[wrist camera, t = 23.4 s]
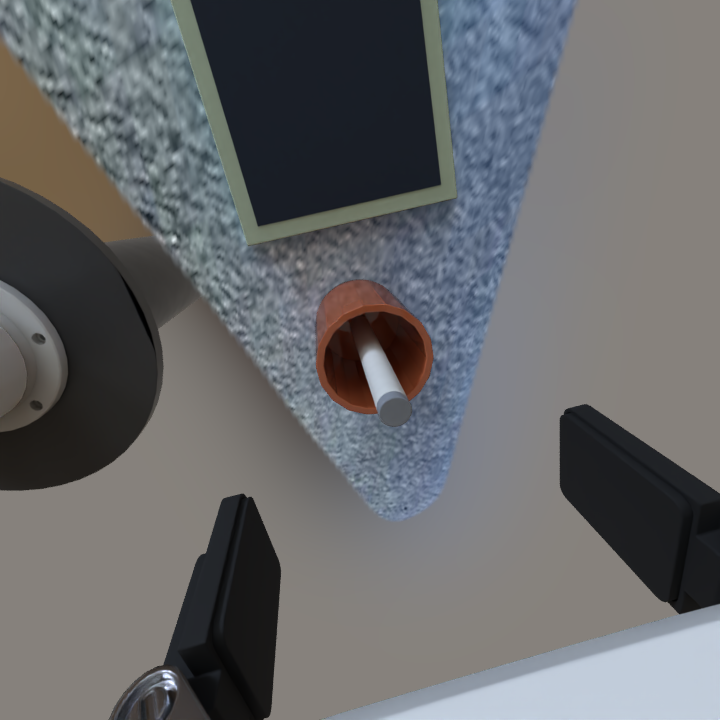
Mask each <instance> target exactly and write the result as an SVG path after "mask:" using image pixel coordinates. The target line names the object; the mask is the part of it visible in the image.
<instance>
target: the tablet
mask: <svg viewBox="0 0 720 720" xmlns="http://www.w3.org/2000/svg"><path fill="white" fill-rule="evenodd" d="M171 4H172V7H173V10H174V13H175V16H176V19H177V23H178V26H179V29H180V32H181V35H182V39H183V42H184V45H185V48H186V51H187V54H188V58H189V61H190V64H191V67H192V70H193V73H194V77H195V80H196V83H197V86H198V89H199V93H200V96H201V99H202V102H203V105H204V108H205V112H206V115H207V118H208V121H209V124H210V128H211V131H212V134H213V137H214V140H215V143H216V147H217V150H218V153H219V156H220V159H221V162H222V166H223V169H224V172H225V175H226V178H227V182H228V185H229V188H230V191H231V194H232V197H233V201H234V204H235V207H236V210H237V213H238V216H239V220H240V223H241V226H242V229H243V232H244V236H245V239H246V242H247V245H248V246H251V245H255V244H259V243H264V242H268V241H272V240H277V239H281V238H285V237H290V236H294V235H299V234H303V233H307V232H312V231H316V230H320V229H325V228H329V227H333V226H338V225H342V224H346V223H351V222H355V221H359V220H364V219H368V218H372V217H377V216H381V215H386V214H390V213H394V212H399V211H403V210H407V209H412V208H416V207H420V206H425V205H429V204H433V203H438V202H442V201H446V200H451V199H455V198H457V190H456V180H455V170H454V160H453V150H452V141H451V131H450V121H449V111H448V101H447V91H446V81H445V71H444V61H443V51H442V41H441V31H440V21H439V11H438V1H437V0H171Z"/></svg>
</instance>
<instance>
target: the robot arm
mask: <svg viewBox="0 0 720 720" xmlns="http://www.w3.org/2000/svg"><path fill="white" fill-rule="evenodd" d="M67 376H68V363H67V356H66V353H65V349H64V345H63V343H62V341H61V339H60V337H59V335H58V333H57V331H56V329H55V327H54V326H53V325H52V323H51V322H50V321H49V319H48V318H47V316H46V315H45V314H44V313H43V312H42V311H41V310H40V309H39V308H38V307H37V306H36V305H35V304H34V303H33V302H32V301H31V300H30V299H29V298H27V297H26V296H24V295H23V294H22V293H20V292H19V291H18V290H16V289H15V288H14V287H12V286H10V285H8V284H6V283H4V282H3V281H1V280H0V432H5V431H11V430H15V429H18V428H21V427H24V426H27V425H28V424H30V423H32V422H34V421H35V420H37V419H39V418H40V417H41V416H43V415H44V414H45V413H47V412H48V411H49V410H50V409H52V407H53V406H54V405H55V404H56V403H57V401H58V400H59V399H60V397H61V395H62V393H63V391H64V389H65V387H66V381H67ZM560 488H561V490H562V493H563V495H564V496H565V497H566V498H567V500H568V501H569V502H570V503H571V504H572V505H573V506H574V507H575V508H576V509H577V511H578V512H579V513H580V514H581V515H582V516H583V517H584V518H585V519H586V520H587V521H588V522H589V524H590V525H591V526H592V527H593V528H594V529H595V530H596V531H597V532H598V533H599V535H600V536H601V537H602V538H603V539H604V540H605V541H606V542H607V543H608V544H609V545H610V546H611V547H612V549H613V550H614V551H615V552H616V553H617V554H618V555H619V556H620V558H621V559H622V560H623V561H624V562H625V563H626V564H627V565H628V566H629V567H630V568H631V570H632V571H633V572H634V573H635V574H636V575H637V576H638V577H639V578H640V579H641V580H642V582H643V583H644V584H645V585H646V586H647V587H648V588H649V589H650V590H651V591H652V592H653V594H654V595H655V596H656V597H657V598H658V599H660V600H661V601H663V602H668V603H669V604H670V605H671V606H672V607H673V608H674V609H675V610H676V611H677V612H678V613H679V615H676V616H672V617H668V618H665V619H661V620H658V621H654V622H651V623H647V624H644V625H640V626H637V627H633V628H630V629H626V630H623V631H619V632H616V633H612V634H609V635H605V636H602V637H598V638H595V639H591V640H588V641H584V642H581V643H577V644H574V645H570V646H567V647H563V648H560V649H556V650H553V651H549V652H546V653H542V654H539V655H536V656H532V657H529V658H525V659H522V660H519V661H515V662H512V663H508V664H505V665H501V666H498V667H495V668H491V669H488V670H484V671H481V672H478V673H474V674H470V675H467V676H464V677H460V678H457V679H453V680H450V681H447V682H443V683H440V684H437V685H433V686H430V687H427V688H423V689H420V690H417V691H413V692H410V693H406V694H403V695H400V696H396V697H393V698H390V699H386V700H383V701H380V702H376V703H373V704H370V705H366V706H363V707H359V708H356V709H353V710H349V711H347V712H343V713H340V714H337V715H334V716H331V717H328V718H324V719H321V720H720V493H718V492H717V491H715V490H714V489H712V488H711V487H709V486H708V485H706V484H705V483H703V482H702V481H701V480H699V479H698V478H696V477H695V476H693V475H691V474H690V473H688V472H687V471H686V470H684V469H683V468H681V467H680V466H678V465H677V464H675V463H674V462H672V461H671V460H669V459H668V458H666V457H665V456H663V455H662V454H661V453H659V452H657V451H656V450H655V449H653V448H652V447H650V446H649V445H647V444H646V443H644V442H643V441H641V440H640V439H638V438H637V437H635V436H634V435H632V434H631V433H629V432H628V431H626V430H624V429H623V428H622V427H621V426H619V425H618V424H616V423H614V422H613V421H612V420H610V419H609V418H607V417H606V416H604V415H603V414H601V413H600V412H598V411H597V410H595V409H594V408H592V407H591V406H589V405H587V404H584V405H580V406H576V407H572V408H568V409H566V410H565V412H564V415H562V416H561V417H560ZM280 579H281V568H280V563H279V560H278V557H277V555H276V553H275V550H274V548H273V546H272V543H271V541H270V538H269V536H268V533H267V531H266V529H265V526H264V524H263V521H262V519H261V517H260V514H259V512H258V509H257V507H256V505H255V502H254V500H253V498H252V497H248V498H247V497H246V496H245V495H244V494H239V495H235V496H231V497H227V498H224V499H223V500H222V502H221V505H220V508H219V511H218V515H217V518H216V521H215V525H214V528H213V532H212V535H211V538H210V542H209V545H208V548H207V552H206V554H202V555H201V556H200V557H199V558H198V559H197V562H196V564H195V567H194V570H193V574H192V577H191V580H190V583H189V586H188V589H187V593H186V596H185V599H184V602H183V605H182V608H181V612H180V614H179V618H178V621H177V624H176V627H175V630H174V634H173V637H172V640H171V643H170V646H169V649H168V653H167V655H166V658H165V662H164V665H162V666H157V667H155V668H153V669H151V670H149V671H147V672H146V673H144V674H143V675H142V676H141V677H139V678H138V679H137V680H135V681H134V682H133V683H132V684H131V686H130V687H129V688H128V689H127V690H126V691H125V692H124V693H123V695H122V696H121V698H120V699H119V701H118V702H117V704H116V705H115V707H114V709H113V711H112V713H111V716H110V718H109V720H263V719H264V718H267V717H269V716H270V712H271V705H272V691H273V677H274V663H275V649H276V635H277V620H278V607H279V594H280Z"/></svg>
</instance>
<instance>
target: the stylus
mask: <svg viewBox="0 0 720 720" xmlns="http://www.w3.org/2000/svg"><path fill="white" fill-rule="evenodd" d="M350 328H351V331H352V334H353V338H354V341H355V344H356V347H357V350H358V353H359V356H360V359H361V362H362V366H363V369H364V372H365V375H366V378H367V381H368V384H369V387H370V391H371V394H372V397H373V400H374V403H375V406H376V409H377V412H378V415H379V418H380V420H381V421H382V422H383V423H384V424H385V425H388V426H392V427H396V426H400V425H402V424H404V423H406V422H407V421H408V420H409V418H410V416H411V413H412V407H411V404H410V402H409V400H408V398H407V396H406V394H405V392H404V390H403V388H402V386H401V384H400V382H399V380H398V378H397V376H396V374H395V373H394V371H393V369H392V367H391V365H390V363H389V361H388V359H387V357H386V355H385V353H384V351H383V349H382V347H381V345H380V343H379V341H378V339H377V337H376V335H375V333H374V331H373V329H372V327H371V325H370V323H369V321H368V320H367V318H365V317H364V316H356V317H354V318H353V319H352V320H351V322H350Z"/></svg>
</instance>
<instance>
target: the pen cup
mask: <svg viewBox="0 0 720 720" xmlns="http://www.w3.org/2000/svg"><path fill="white" fill-rule="evenodd" d="M356 316H364V317H365V318H367V320H368V321H369V323H370V325H371V327H372V329H373V331H374V333H375V335H376V337H377V339H378V341H379V343H380V345H381V347H382V349H383V351H384V353H385V355H386V357H387V359H388V361H389V363H390V365H391V367H392V369H393V371H394V373H395V374H396V376H397V378H398V380H399V382H400V384H401V386H402V388H403V390H404V392H405V394H406V396H407V398H408V400H409V401H410V400H411V399H412V398H414V397H415V396H416V395H417V394H418V393H419V392H420V391H421V389H422V388H423V386H424V384H425V383H426V381H427V380H428V378H429V376H430V372H431V367H432V363H433V350H432V343H431V339H430V337H429V335H428V333H427V331H426V330H425V328H424V326H423V325H422V323H421V322H420V321H419V320H418V319H417V318H416V317H415V316H414V315H413V314H412V313H411V312H410V311H409V310H408V309H407V308H406V307H405V306H404V305H403V304H402V303H401V302H400V301H399V300H398V299H397V298H396V297H395V296H394V295H393V294H392V293H391V292H390V291H389V290H388V289H386V288H385V287H384V286H382V285H380V284H378V283H376V282H373V281H369V280H351V281H347V282H344V283H342V284H340V285H338V286H336V287H335V288H333V289H332V290H331V291H330V292H329V293H328V294H327V295H326V296H325V297H324V299H323V300H322V302H321V304H320V306H319V308H318V311H317V316H316V326H315V335H316V369H317V373H318V376H319V380H320V383H321V386H322V387H323V388H324V390H325V391H326V392H327V394H328V395H329V396H330V398H331V399H332V400H333V401H335V402H336V403H338V404H339V405H341V406H343V407H344V408H346V409H347V410H350V411H354V412H359V413H363V414H378V412H377V409H376V406H375V403H374V400H373V397H372V394H371V391H370V387H369V384H368V381H367V378H366V375H365V372H364V369H363V366H362V362H361V359H360V356H359V353H358V350H357V347H356V344H355V341H354V338H353V334H352V331H351V328H350V322H351V320H352V319H353V318H354V317H356Z"/></svg>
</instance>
